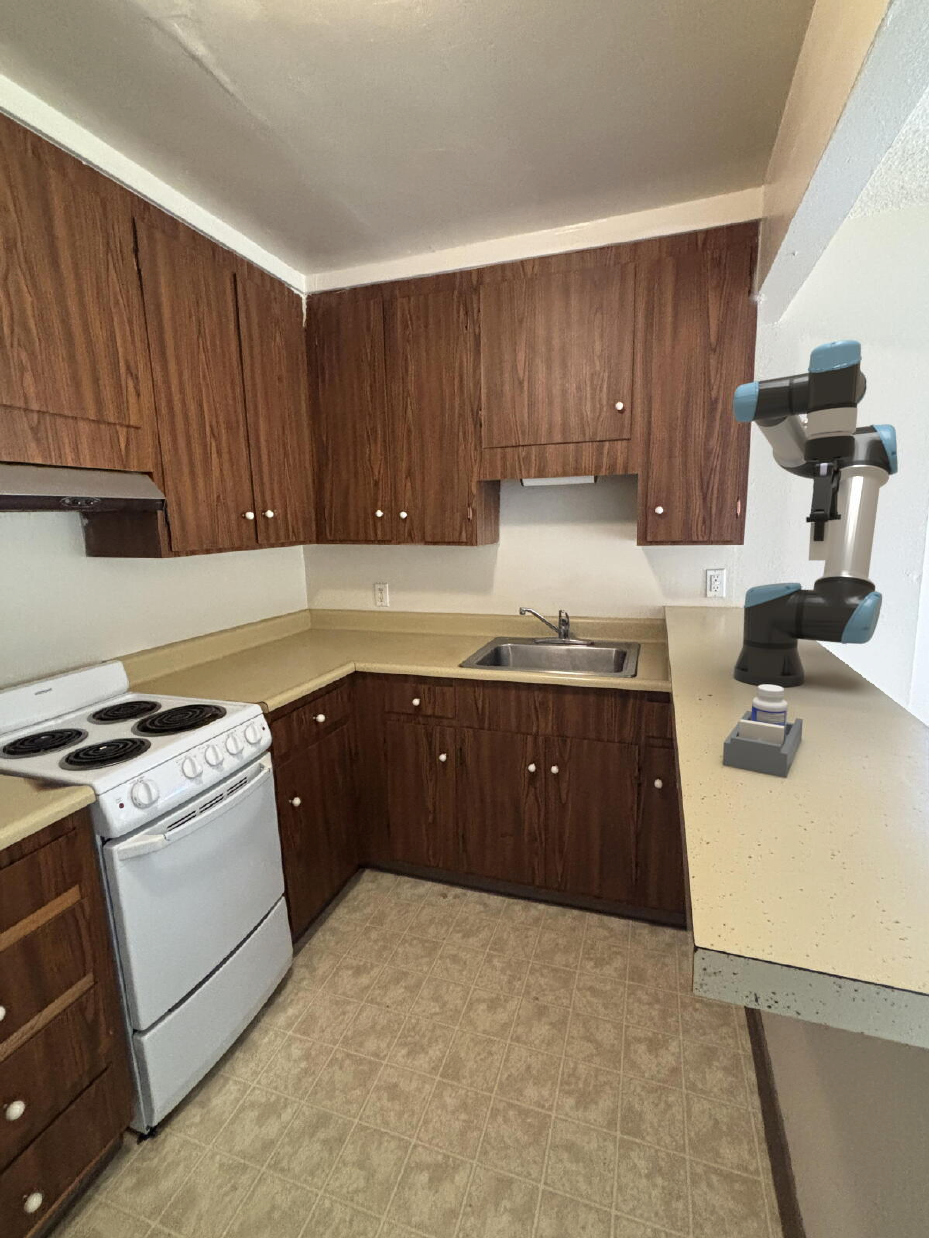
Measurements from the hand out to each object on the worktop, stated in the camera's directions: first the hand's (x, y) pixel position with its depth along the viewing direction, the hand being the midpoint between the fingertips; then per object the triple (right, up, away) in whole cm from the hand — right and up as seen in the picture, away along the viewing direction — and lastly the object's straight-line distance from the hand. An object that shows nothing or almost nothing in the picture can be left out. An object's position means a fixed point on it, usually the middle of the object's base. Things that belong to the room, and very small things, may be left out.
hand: (821, 557), depth 103 cm
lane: (-15, -34, -7) cm, 38 cm away
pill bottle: (-13, -33, -5) cm, 35 cm away
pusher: (-18, -34, -12) cm, 40 cm away
